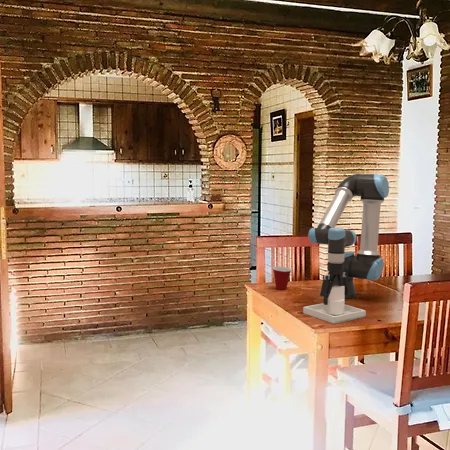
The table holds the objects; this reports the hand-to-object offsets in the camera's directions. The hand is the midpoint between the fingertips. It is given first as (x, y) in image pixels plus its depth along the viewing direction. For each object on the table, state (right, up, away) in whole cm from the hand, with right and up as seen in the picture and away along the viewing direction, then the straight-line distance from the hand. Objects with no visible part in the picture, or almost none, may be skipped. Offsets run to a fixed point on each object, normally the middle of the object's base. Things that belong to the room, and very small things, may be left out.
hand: (334, 309), depth 243 cm
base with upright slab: (0, -1, 0) cm, 1 cm away
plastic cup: (-19, +3, +51) cm, 55 cm away
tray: (0, -2, 0) cm, 2 cm away
